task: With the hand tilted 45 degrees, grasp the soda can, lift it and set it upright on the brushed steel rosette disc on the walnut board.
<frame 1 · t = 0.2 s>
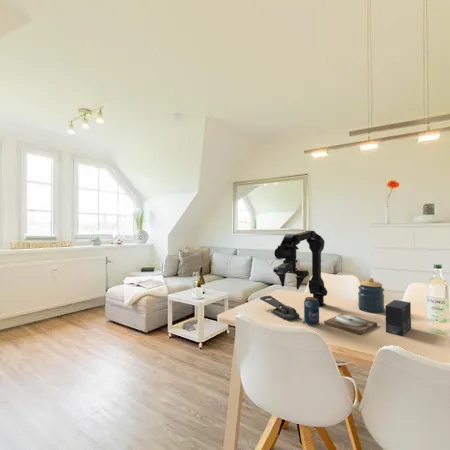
hand: (290, 288, 146), 14 cm above the table, tool pointing down, fingers open, 9 cm apart
canister: (371, 309, 154), on the table
soda can: (311, 323, 133), on the table
small box: (398, 330, 124), on the table
zipper pull: (278, 313, 149), on the table
rosette board: (350, 324, 131), on the table
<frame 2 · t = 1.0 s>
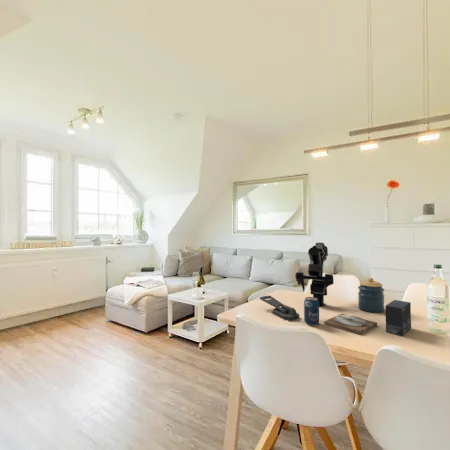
hand: (312, 292, 140), 13 cm above the table, tool tilted 45°, fingers open, 9 cm apart
nothing on the table moved.
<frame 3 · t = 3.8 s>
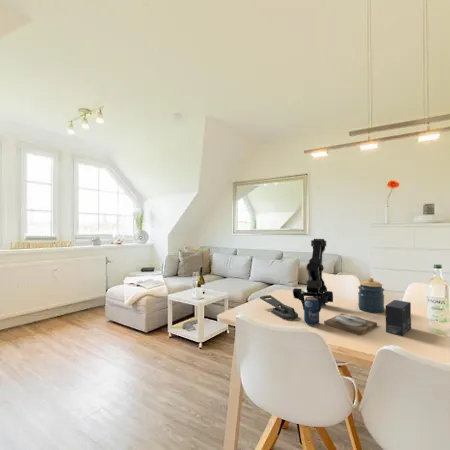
hand: (311, 310, 132), 7 cm above the table, tool tilted 45°, fingers closed on soda can, 7 cm apart
soda can: (311, 323, 133), on the table, touching gripper
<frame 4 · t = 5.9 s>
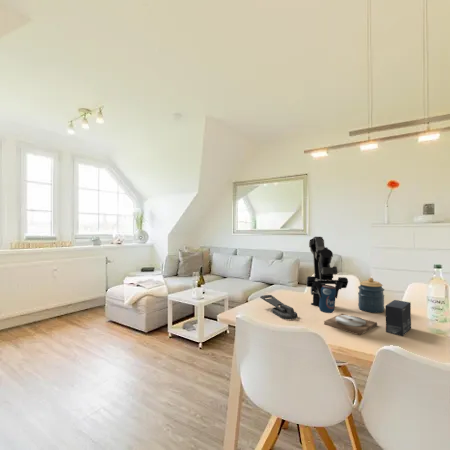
hand: (328, 297, 130), 13 cm above the table, tool tilted 45°, fingers closed on soda can, 6 cm apart
soda can: (326, 311, 131), point 6 cm above the table, touching gripper
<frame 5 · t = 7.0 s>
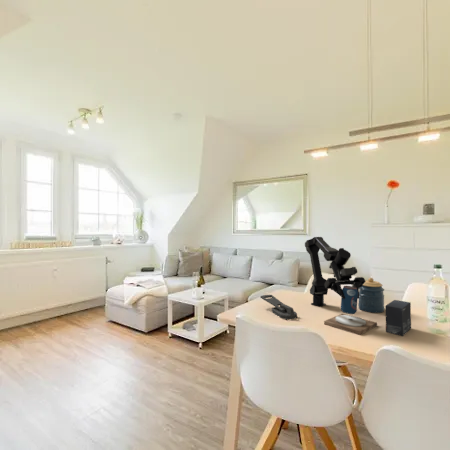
hand: (351, 298, 130), 13 cm above the table, tool tilted 45°, fingers closed on soda can, 6 cm apart
soda can: (348, 312, 131), point 6 cm above the table, touching gripper
when the fingers open (10 cm above the table, at t = 8.0 s): soda can stays where it is, resting on rosette board.
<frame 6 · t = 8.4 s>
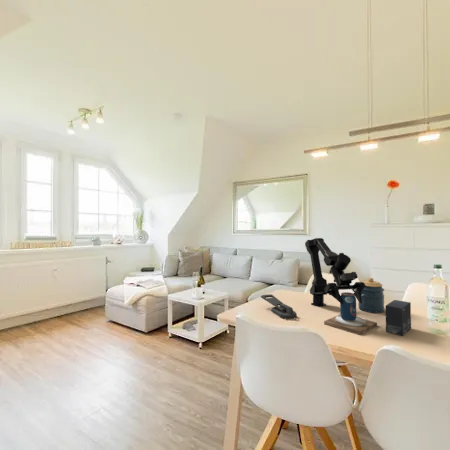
hand: (351, 303, 130), 11 cm above the table, tool tilted 45°, fingers open, 9 cm apart
soda can: (348, 319, 131), point 3 cm above the table, touching rosette board
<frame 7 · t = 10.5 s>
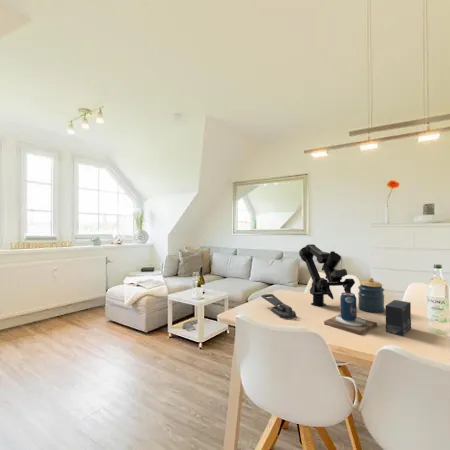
hand: (341, 298, 138), 10 cm above the table, tool tilted 45°, fingers open, 9 cm apart
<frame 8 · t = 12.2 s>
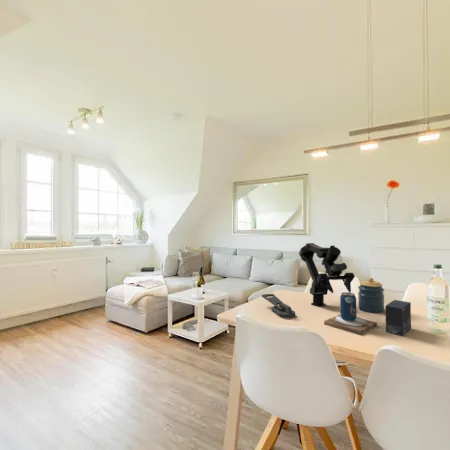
hand: (341, 292, 139), 14 cm above the table, tool tilted 45°, fingers open, 9 cm apart
at the end: soda can inside the target area on the rosette board (0.8 cm from its centre), point 2.5 cm above the rosette board's base; soda can tilted 1°; the gripper is holding nothing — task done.
